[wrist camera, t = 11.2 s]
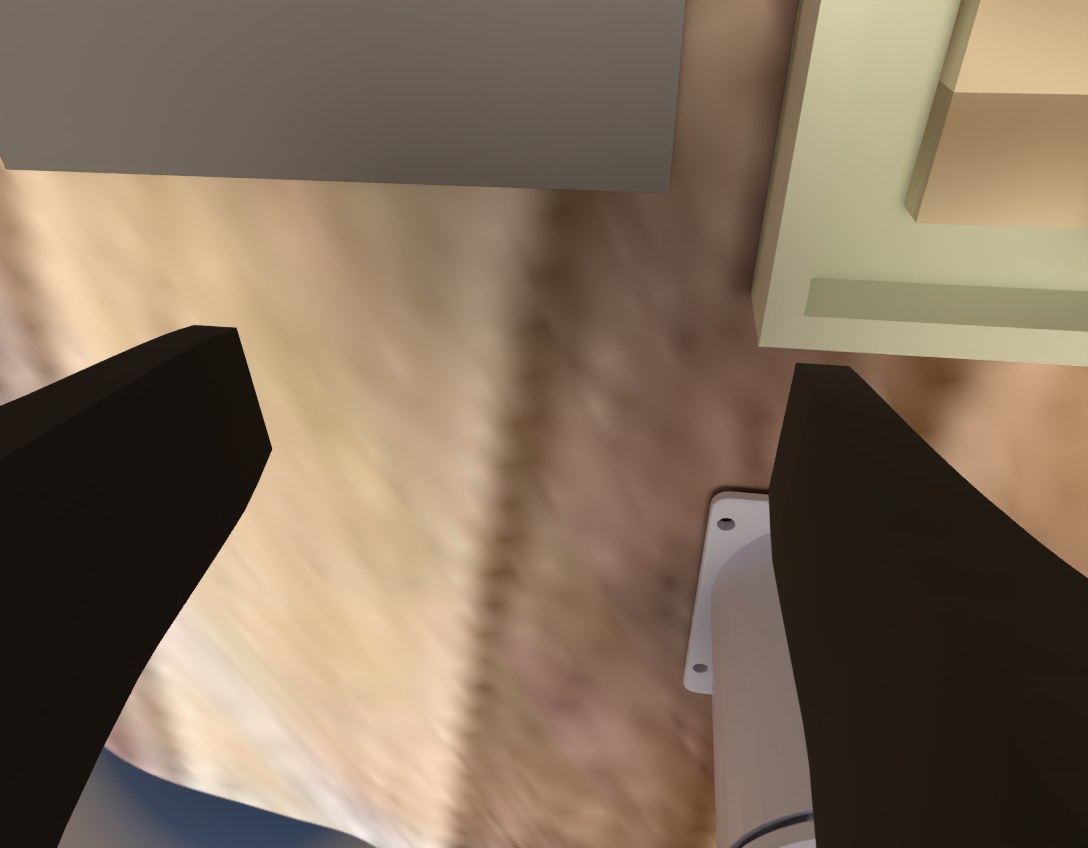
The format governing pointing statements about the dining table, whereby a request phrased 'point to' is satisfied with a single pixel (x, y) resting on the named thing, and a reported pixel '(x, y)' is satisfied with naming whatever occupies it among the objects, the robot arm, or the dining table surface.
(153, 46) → the stake board
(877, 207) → the sage tray
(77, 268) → the dining table surface
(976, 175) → the tan square frame
